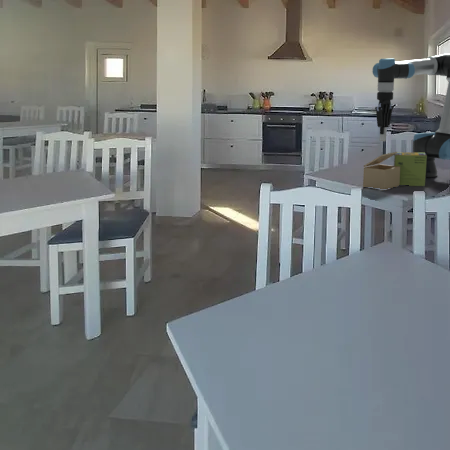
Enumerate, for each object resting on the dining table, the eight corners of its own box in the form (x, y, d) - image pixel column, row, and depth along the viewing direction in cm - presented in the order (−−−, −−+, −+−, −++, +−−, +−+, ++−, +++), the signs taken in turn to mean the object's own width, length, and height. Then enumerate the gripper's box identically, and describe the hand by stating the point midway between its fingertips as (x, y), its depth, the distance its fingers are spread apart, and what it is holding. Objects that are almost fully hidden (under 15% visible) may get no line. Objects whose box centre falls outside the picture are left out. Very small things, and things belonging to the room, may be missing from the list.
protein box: (425, 186, 321) (427, 155, 317) (393, 185, 324) (394, 154, 320) (423, 182, 331) (425, 152, 327) (392, 181, 334) (393, 151, 330)
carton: (378, 183, 330) (379, 164, 327) (399, 186, 321) (400, 166, 319) (362, 187, 320) (363, 167, 318) (384, 190, 312) (385, 170, 309)
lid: (379, 163, 327) (378, 162, 327) (397, 152, 319) (397, 151, 319) (363, 167, 318) (363, 165, 318) (382, 155, 309) (381, 154, 309)
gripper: (385, 90, 316) (383, 139, 322) (371, 91, 307) (368, 141, 313) (399, 91, 311) (396, 140, 317) (384, 92, 302) (382, 142, 308)
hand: (382, 140), depth 315 cm, fingers closed
